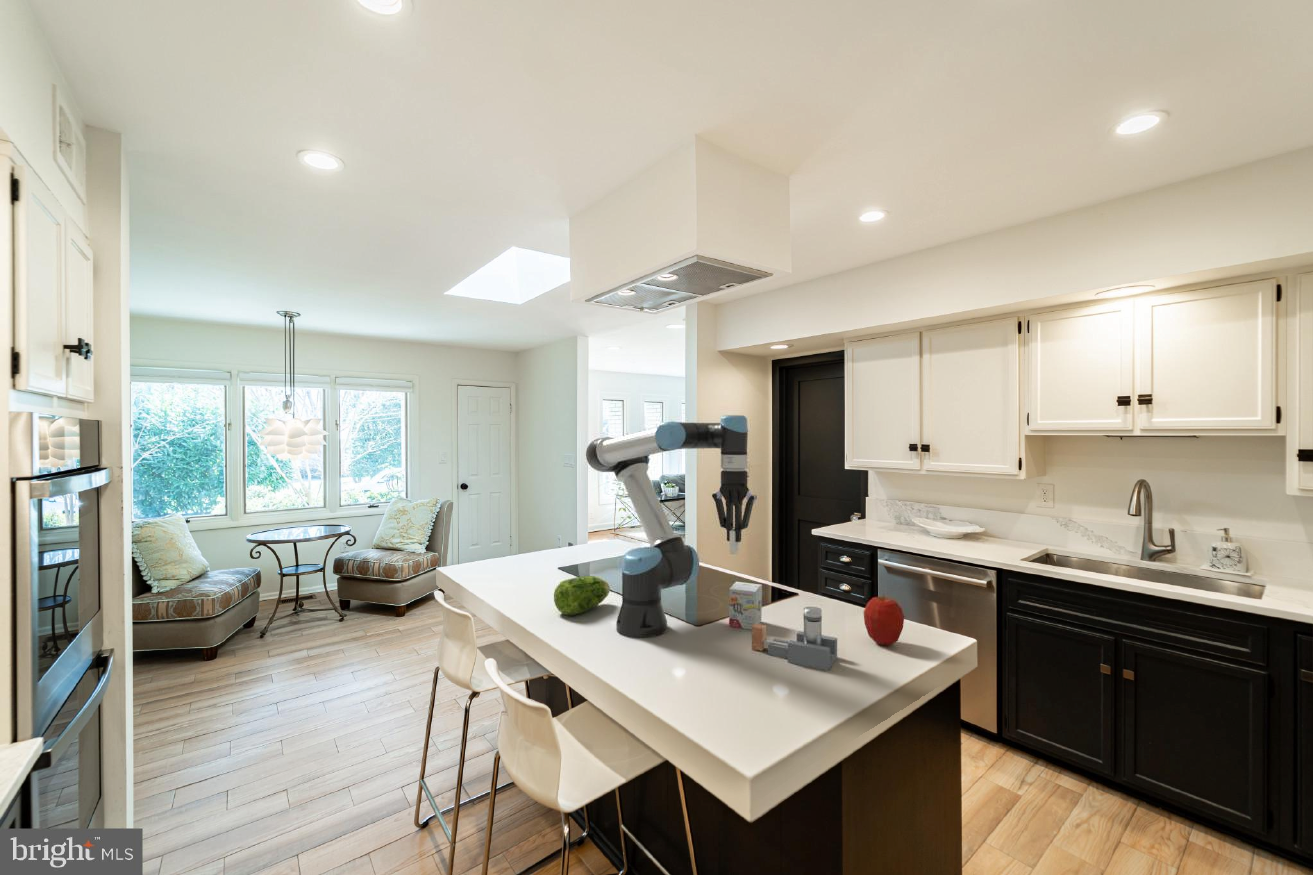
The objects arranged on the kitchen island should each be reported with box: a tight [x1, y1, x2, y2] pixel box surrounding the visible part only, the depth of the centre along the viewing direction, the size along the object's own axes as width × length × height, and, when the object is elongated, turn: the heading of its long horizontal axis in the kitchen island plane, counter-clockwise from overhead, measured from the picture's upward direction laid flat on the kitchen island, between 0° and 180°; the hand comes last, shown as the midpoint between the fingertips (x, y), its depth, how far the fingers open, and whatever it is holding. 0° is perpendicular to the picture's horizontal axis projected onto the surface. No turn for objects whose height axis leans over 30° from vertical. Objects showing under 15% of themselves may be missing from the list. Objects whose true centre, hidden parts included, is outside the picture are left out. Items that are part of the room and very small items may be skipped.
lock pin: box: [751, 623, 788, 652], centre depth 147 cm, size 13×3×6 cm, turn 59°
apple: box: [862, 593, 905, 647], centre depth 154 cm, size 10×10×14 cm
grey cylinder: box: [803, 606, 823, 646], centre depth 143 cm, size 4×4×13 cm
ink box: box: [728, 581, 763, 630], centre depth 170 cm, size 9×9×12 cm
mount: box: [767, 630, 838, 672], centre depth 144 cm, size 16×10×5 cm, turn 59°
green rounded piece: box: [553, 575, 611, 616], centre depth 184 cm, size 12×21×11 cm, turn 141°
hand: (734, 553), depth 157 cm, fingers closed
